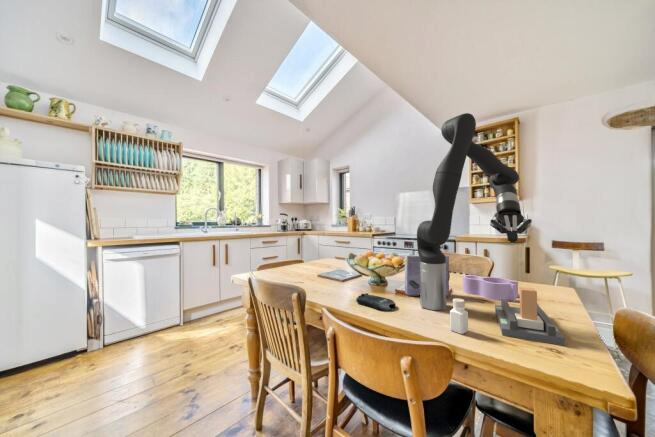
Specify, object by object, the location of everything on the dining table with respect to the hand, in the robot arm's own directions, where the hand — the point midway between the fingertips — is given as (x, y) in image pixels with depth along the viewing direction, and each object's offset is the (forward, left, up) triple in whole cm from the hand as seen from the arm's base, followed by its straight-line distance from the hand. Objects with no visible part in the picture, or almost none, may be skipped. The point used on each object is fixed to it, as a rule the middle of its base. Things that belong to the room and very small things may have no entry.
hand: (513, 241), depth 90 cm
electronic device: (-47, +3, -26) cm, 54 cm away
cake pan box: (-25, +20, -26) cm, 42 cm away
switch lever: (-2, -14, -24) cm, 27 cm away
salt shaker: (-21, -16, -26) cm, 37 cm away
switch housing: (0, -8, -26) cm, 27 cm away
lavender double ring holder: (0, +24, -26) cm, 36 cm away
